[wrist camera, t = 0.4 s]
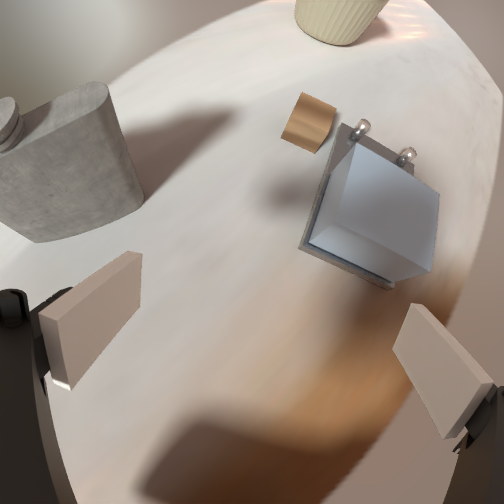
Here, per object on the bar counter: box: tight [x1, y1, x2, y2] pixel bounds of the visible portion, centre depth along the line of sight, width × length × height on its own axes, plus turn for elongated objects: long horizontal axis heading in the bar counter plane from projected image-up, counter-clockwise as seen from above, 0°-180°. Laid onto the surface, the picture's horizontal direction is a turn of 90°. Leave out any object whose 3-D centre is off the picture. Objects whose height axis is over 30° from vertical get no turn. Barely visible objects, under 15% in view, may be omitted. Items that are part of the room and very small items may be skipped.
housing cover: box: [309, 143, 440, 283], centre depth 31 cm, size 10×12×7 cm
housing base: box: [298, 119, 417, 290], centre depth 35 cm, size 20×13×4 cm, turn 158°
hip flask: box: [0, 82, 144, 243], centre depth 21 cm, size 16×4×20 cm, turn 109°
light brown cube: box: [281, 92, 337, 154], centre depth 36 cm, size 5×5×5 cm
